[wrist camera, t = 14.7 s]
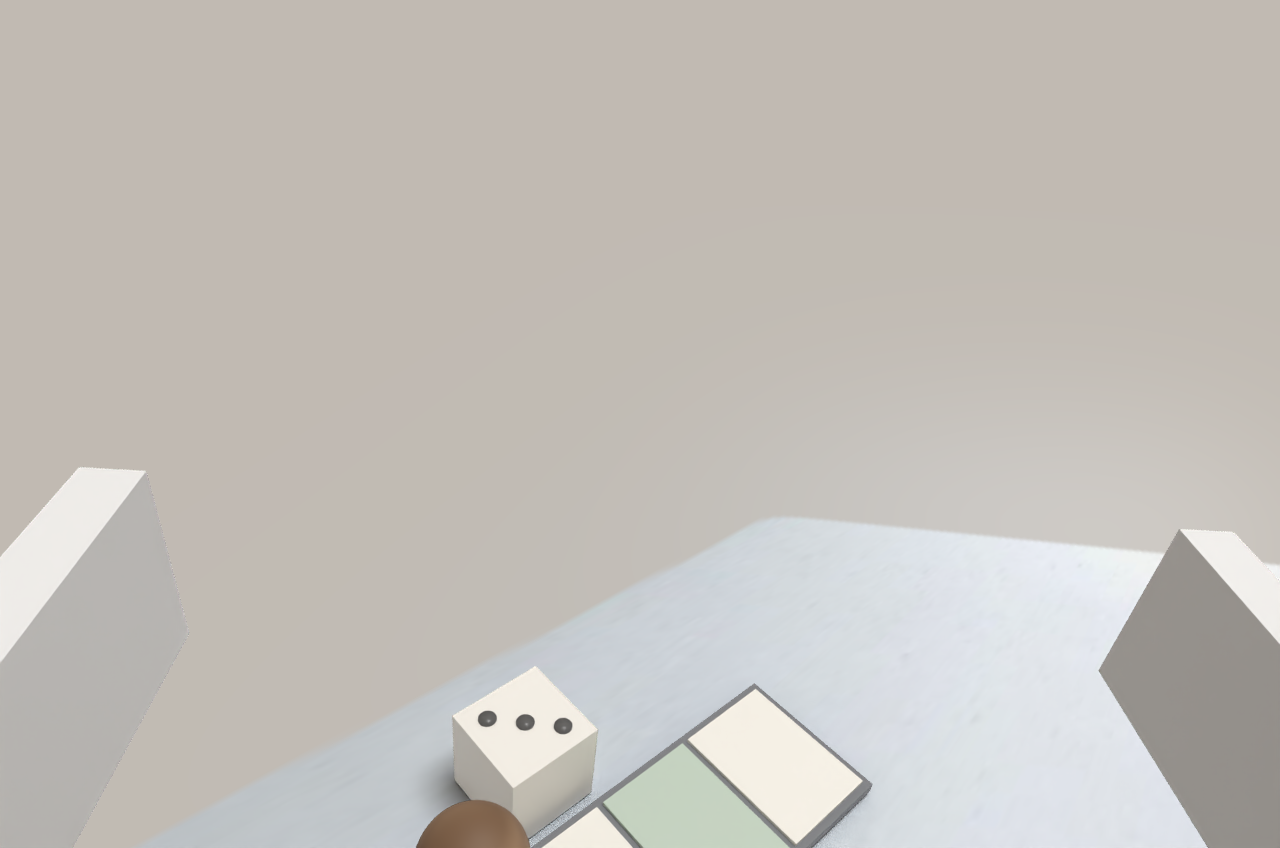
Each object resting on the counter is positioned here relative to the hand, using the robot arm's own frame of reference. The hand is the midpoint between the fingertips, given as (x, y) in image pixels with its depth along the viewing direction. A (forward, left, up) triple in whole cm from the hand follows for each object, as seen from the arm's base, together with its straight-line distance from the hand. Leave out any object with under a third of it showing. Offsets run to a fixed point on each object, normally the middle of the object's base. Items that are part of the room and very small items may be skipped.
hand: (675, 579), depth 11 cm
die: (+16, -10, -32) cm, 37 cm away
